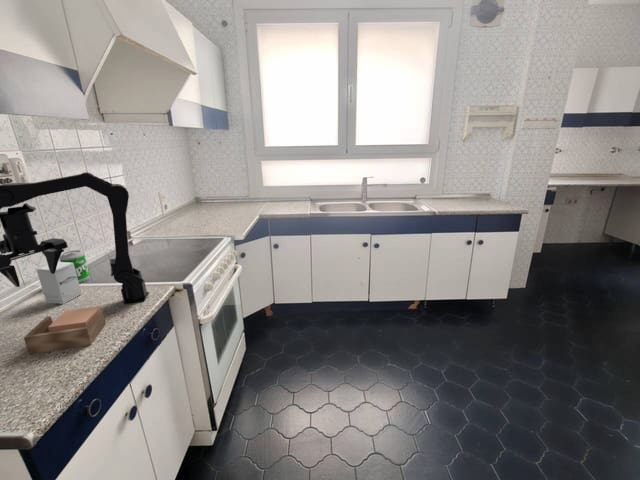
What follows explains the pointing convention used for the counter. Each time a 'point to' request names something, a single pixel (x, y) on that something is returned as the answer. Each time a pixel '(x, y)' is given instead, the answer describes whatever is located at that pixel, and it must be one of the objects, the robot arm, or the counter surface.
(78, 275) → the soda can
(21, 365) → the counter surface
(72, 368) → the counter surface
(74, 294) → the supplement box
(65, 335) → the walnut stall
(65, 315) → the terracotta block
